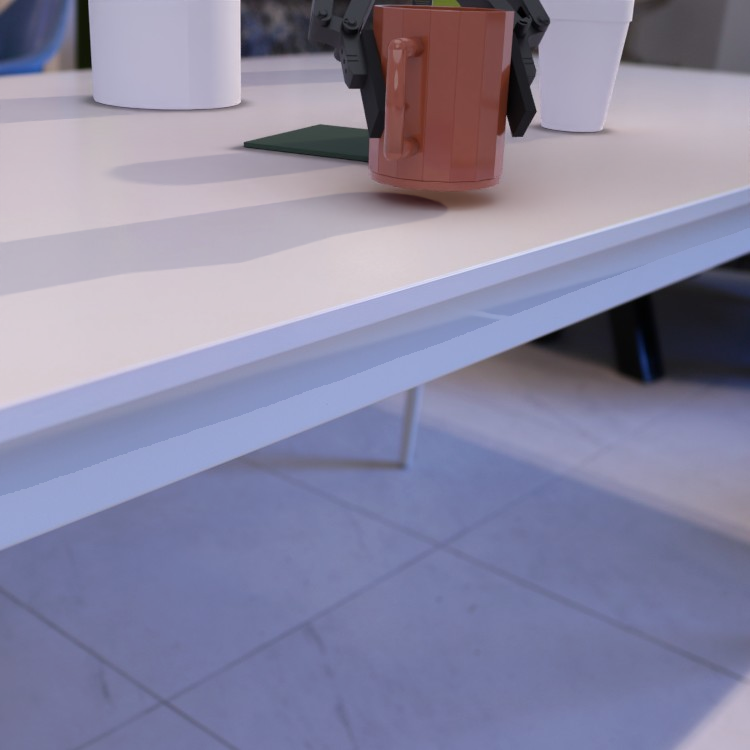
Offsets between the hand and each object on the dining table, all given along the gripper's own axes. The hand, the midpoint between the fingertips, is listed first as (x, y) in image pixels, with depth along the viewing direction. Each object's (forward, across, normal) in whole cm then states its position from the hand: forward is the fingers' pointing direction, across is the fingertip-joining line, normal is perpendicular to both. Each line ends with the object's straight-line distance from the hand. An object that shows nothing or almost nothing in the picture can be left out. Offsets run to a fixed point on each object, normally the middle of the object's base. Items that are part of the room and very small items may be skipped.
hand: (453, 124), depth 68 cm
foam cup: (-22, -26, -29) cm, 45 cm away
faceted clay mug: (+2, +1, -4) cm, 5 cm away
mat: (-14, 0, -22) cm, 26 cm away
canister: (-36, +13, -43) cm, 58 cm away
